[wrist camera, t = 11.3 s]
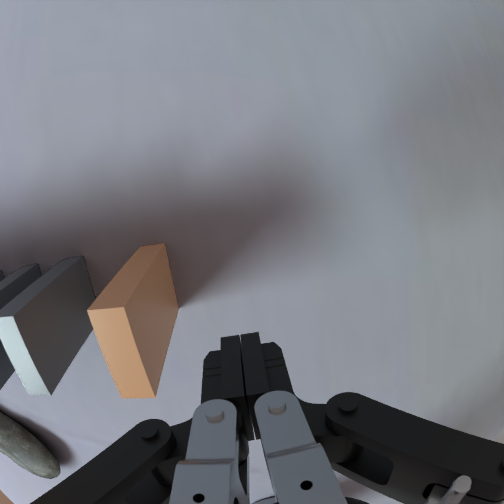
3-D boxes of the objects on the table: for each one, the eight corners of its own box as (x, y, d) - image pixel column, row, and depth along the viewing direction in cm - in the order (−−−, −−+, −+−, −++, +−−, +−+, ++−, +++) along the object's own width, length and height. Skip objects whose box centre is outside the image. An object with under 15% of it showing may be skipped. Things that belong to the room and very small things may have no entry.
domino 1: (37, 263, 21) (-36, 319, 12) (56, 320, 22) (-1, 390, 13) (22, 266, 21) (-51, 319, 12) (41, 321, 22) (-17, 388, 13)
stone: (64, 441, 27) (-24, 378, 26) (48, 461, 23) (-42, 391, 23) (65, 485, 28) (-15, 430, 28) (53, 503, 25) (-29, 443, 24)
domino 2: (83, 255, 21) (13, 316, 12) (101, 316, 23) (50, 395, 13) (63, 258, 21) (-9, 317, 12) (82, 318, 22) (28, 393, 13)
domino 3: (164, 242, 21) (124, 306, 12) (179, 308, 23) (155, 397, 14) (140, 246, 21) (86, 310, 12) (155, 311, 23) (121, 398, 14)
